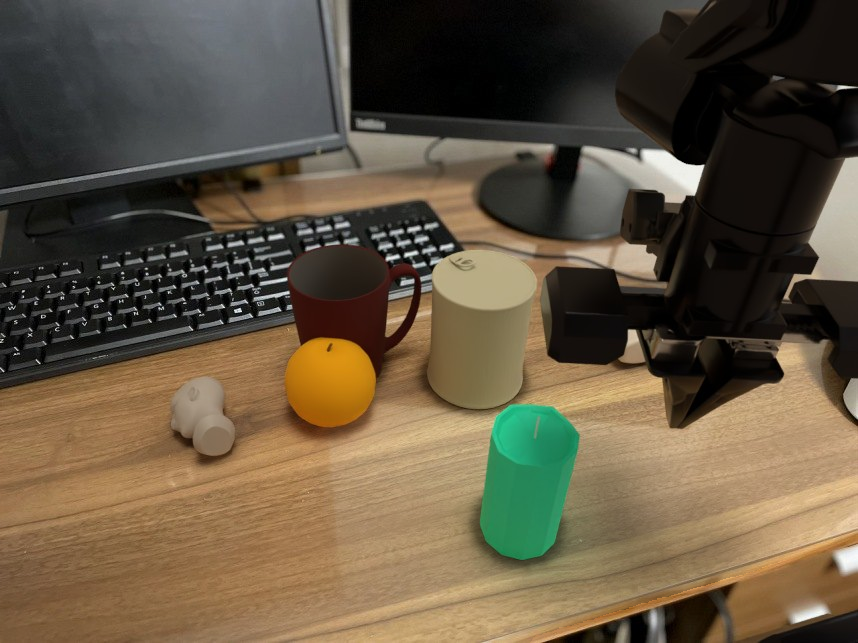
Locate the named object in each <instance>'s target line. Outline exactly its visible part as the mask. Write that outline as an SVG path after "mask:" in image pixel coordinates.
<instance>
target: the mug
mask: <svg viewBox="0 0 858 643" xmlns="http://www.w3.org/2000/svg"><path fill="white" fill-rule="evenodd" d="M405 276H406V277H407V276H408V277H409V276H410V277H411V278H413V291H412V292H413V293H412V297H411V302H410V306H409V309H408V310H407V313H406V315H405V317H404V319H403V321H402V323H401V324H400V326H399V327H398V328H397V329H396V330H395V331H394V332H393V333H392V334H391V335H390V336H386V332H387V323H388V322H387V321H388V311H389V310H388V308H389V297H390V296H389V295H390V290H391V287H392V284H393V283H394V282H395V281H396V280H397V279H399V278H401V277H405ZM286 279H287V281H286V282H287V286H288V287H287V288H288V292H289V298H290V303H291V308H292V315H293V318H294V323H295V327H296V332H297V336H298V340H299V345H300V347H301V346H302V345H303V344H305V343H306V342H308V341H310V340H312V339H315V338H320V337H323V338H335V339H344V340H348V341H351V342H354V343H356V344H357V345H358V346H360V347H361V348H362V349H363V351H364V352H365V353H366V354H367V355H368V357H369V358H370V360H371V363H372V365H373V368H374V371H375V375H376V379H377V378H379V375H380V374H381V372H382V369H383V364H384V356H385V354H387V353H388V352H389V351H391V350H392V349H394V348H395V347H397V346H398V345H399V344H400V343H401V342H403V340H404V339H405V337H406V336H407V335H408V333H409V332H410V330H411V328H412V326H413V325H414V322H415V320H416V317H417V316H418V315H417V314H418V312H419V308H420V304H421V298H422V280H421V277H420V274H419V271H417V269H416V268H415V267H414V266H413V265H412V264H410V263H399V264H396V265H393V266H392V267H391V268H390V266H389V264H388V262H387V261H386V259H385V258H384V257H383V256H381V255H380V254H379V253H377V252H376V251H374V250H372V249H369V248H366V247H363V246H361V245H360V246H358V245H354V244H344V243H343V244H329V245H323V246H319V247H315V248H312V249H310V250H307V251H305V252H303V253H302V254H300V255H298V256H297V257H295V258H294V259H293V260H292V261H291V262H290V264H289V266H288V268H287V271H286Z"/></svg>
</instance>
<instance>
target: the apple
mask: <svg viewBox="0 0 858 643" xmlns="http://www.w3.org/2000/svg"><path fill="white" fill-rule="evenodd" d="M283 380H284V383H283V384H284V388H285V394H286V398H287V401H288V403H289V405H290V406H291V408H292V409H293V410H294V412H295V413H296V415H297V416H298V417H300V418H301V419H303V420H305V421H306V422H307V423H309V424H311V425H314V426H318V427H321V428H323V427H324V428H336V427H340V426H345V425H347V424H350V423H352V422H354V421H356V420H357V419H358V418H359V417H361V416H362V415H363V414H364V413H365V412H366V411H367V410H368V408H369V406H370V405H371V403H372V401H373V399H374V398H375V393H376V384H377V383H376V381H377V378H376V375H375V371H374V368H373V365H372V363H371V360H370V358H369V357H368V355H367V354H366V353H365V352H364V351H363V349H362V348H361V347H360V346H358V345H357V344H356V343H354V342H351V341H348V340H344V339H335V338H323V337H320V338H315V339H312V340H310V341H308V342H306V343H305V344H303V345H302V346H301V345H300V346H299V347H298V348H297V349H296V351H294V353H293V354H292V356H291V357H290V358H289V360H288V362H287V365H286V369H285V374H284V379H283Z"/></svg>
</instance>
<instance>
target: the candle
mask: <svg viewBox="0 0 858 643" xmlns="http://www.w3.org/2000/svg"><path fill="white" fill-rule="evenodd" d="M580 438H581V434H580V433H579V431H578V430H577V429H576V427H574V425H573V424H572V423H571V421H570V420H569V419H567V418H566V417H565V416H564V415H563V414H562V413H561V412H559V410H557V409H556V407H554V406H552V405H551V406H550V405H541V404H527V403H526V404H509V405H508V406H507V407H506V408H505V409H503V410H502V411H500V413H498V414H497V415H496V416H495V418H494V422H493V425H492V429H491V433H490V441H489V446H488V447H489V448H488V455H487V461H486V462H487V463H486V472H485V477H484V478H485V479H484V486H483V487H484V488H483V493H482V502H481V508H480V509H481V510H480V517H479V527H480V529H481V532H482V535H483V538H484V541H485V542H486V543H487V544H488V545H489V546H491V548H493V549H494V550H495V551H496V552H498V553H499V555H501V556H505V557H507V558H508V557H509V558H511V559H516V560H520V561H525V560H529V559H534V558H539V557H542V556H543V555H544V554H546V552H547V551H549V550H550V548H551V547H552V546H554V544H555V543H556V539H557V535H558V531H559V527H560V523H561V519H562V515H563V511H564V507H565V503H566V501H567V500H566V499H567V495H568V492H569V488H570V483H571V480H572V476H573V472H574V468H575V464H576V460H577V456H578V452H579V446H580Z"/></svg>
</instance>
